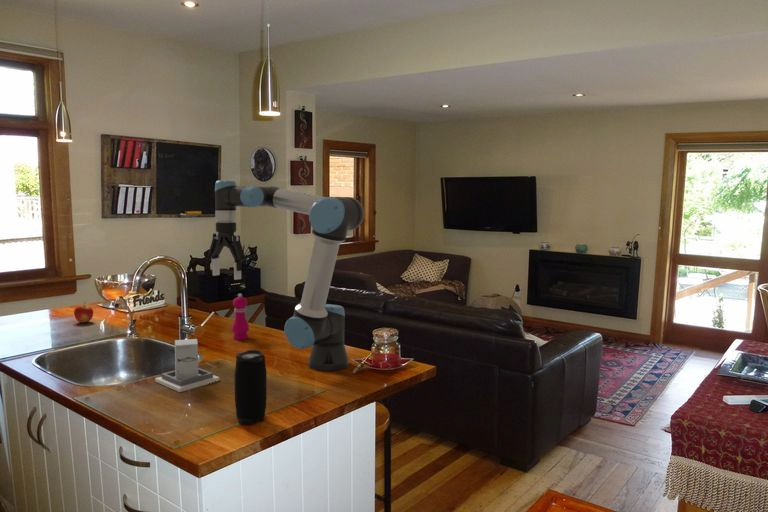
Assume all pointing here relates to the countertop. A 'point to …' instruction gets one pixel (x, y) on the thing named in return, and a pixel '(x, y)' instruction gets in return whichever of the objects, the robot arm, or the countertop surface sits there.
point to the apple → (83, 313)
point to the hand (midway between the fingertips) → (226, 277)
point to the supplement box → (186, 359)
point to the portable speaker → (250, 386)
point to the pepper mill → (240, 319)
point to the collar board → (183, 385)
